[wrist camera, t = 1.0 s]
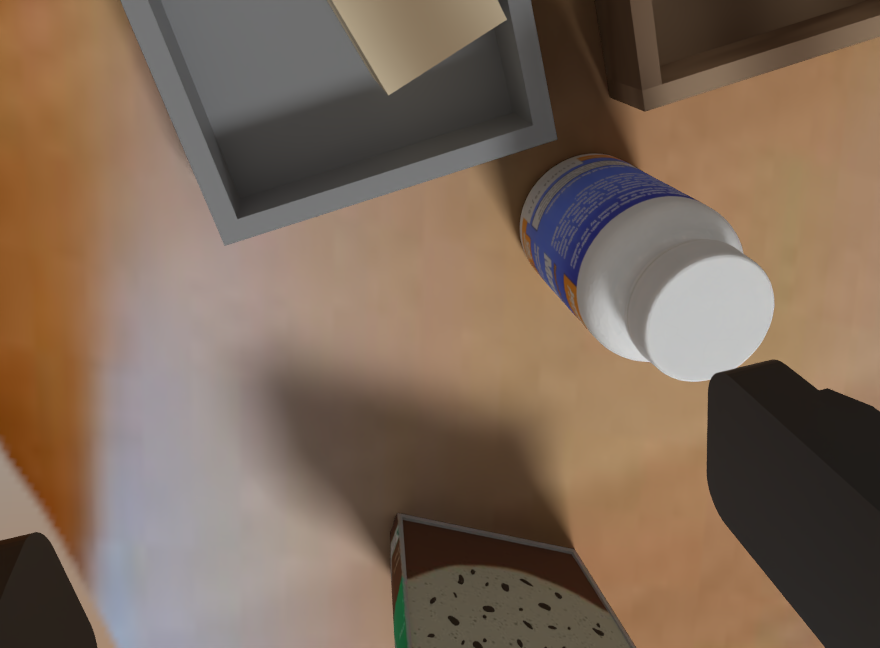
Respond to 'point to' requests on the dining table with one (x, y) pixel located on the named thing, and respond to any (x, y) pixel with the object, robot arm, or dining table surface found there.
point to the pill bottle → (646, 267)
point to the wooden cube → (412, 33)
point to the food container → (493, 591)
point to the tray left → (328, 106)
